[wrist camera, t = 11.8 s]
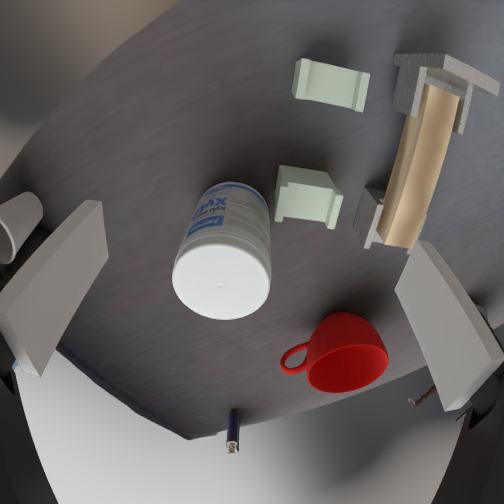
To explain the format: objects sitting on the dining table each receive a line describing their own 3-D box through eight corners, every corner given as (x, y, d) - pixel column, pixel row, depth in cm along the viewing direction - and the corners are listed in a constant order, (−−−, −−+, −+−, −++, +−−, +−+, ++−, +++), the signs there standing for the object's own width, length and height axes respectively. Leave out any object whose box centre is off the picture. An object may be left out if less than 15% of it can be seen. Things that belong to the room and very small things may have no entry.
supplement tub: (219, 165, 38) (198, 220, 25) (283, 203, 40) (294, 272, 28) (184, 224, 42) (155, 295, 30) (244, 256, 45) (238, 334, 32)
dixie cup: (10, 214, 41) (-25, 245, 33) (18, 174, 37) (-22, 203, 29) (43, 238, 44) (11, 274, 35) (54, 200, 40) (17, 233, 32)
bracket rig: (352, 226, 42) (378, 280, 32) (393, 54, 29) (445, 53, 19) (397, 233, 42) (430, 285, 32) (441, 72, 29) (500, 83, 19)
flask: (240, 424, 74) (238, 460, 65) (229, 424, 74) (226, 459, 65) (239, 409, 69) (236, 447, 60) (226, 408, 69) (223, 447, 60)
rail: (374, 227, 38) (384, 244, 34) (413, 81, 27) (430, 84, 24) (400, 232, 38) (412, 248, 35) (441, 92, 28) (459, 97, 24)
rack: (272, 194, 39) (274, 221, 33) (293, 60, 30) (302, 58, 24) (322, 201, 40) (334, 229, 33) (349, 72, 31) (370, 74, 24)
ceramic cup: (275, 305, 50) (277, 354, 41) (377, 292, 48) (395, 337, 40) (281, 354, 57) (283, 399, 48) (369, 343, 55) (381, 386, 47)
